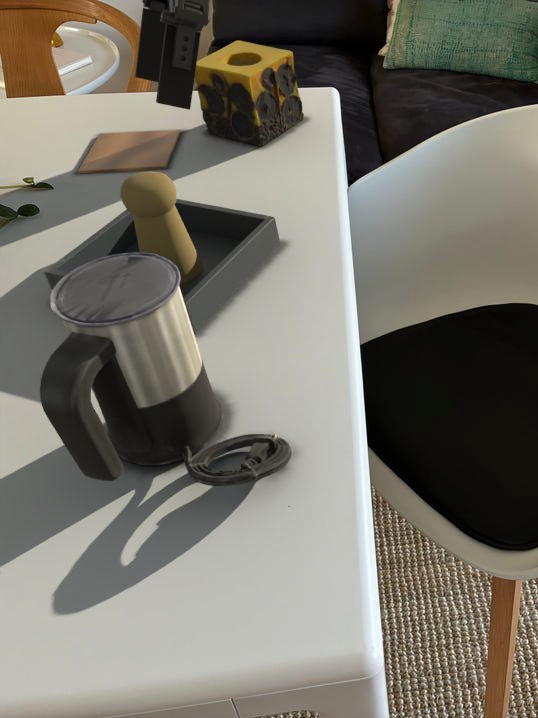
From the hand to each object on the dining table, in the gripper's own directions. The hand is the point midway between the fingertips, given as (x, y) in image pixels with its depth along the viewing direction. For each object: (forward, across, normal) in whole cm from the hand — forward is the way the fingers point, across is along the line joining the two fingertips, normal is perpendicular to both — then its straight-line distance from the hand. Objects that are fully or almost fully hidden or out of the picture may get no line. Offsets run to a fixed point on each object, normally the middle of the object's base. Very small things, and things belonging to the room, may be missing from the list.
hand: (160, 92), depth 73 cm
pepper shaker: (+19, +3, -4) cm, 19 cm away
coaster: (+13, +34, -3) cm, 37 cm away
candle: (+7, +34, -19) cm, 39 cm away
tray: (+19, +3, -4) cm, 19 cm away
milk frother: (+24, -24, -3) cm, 34 cm away
